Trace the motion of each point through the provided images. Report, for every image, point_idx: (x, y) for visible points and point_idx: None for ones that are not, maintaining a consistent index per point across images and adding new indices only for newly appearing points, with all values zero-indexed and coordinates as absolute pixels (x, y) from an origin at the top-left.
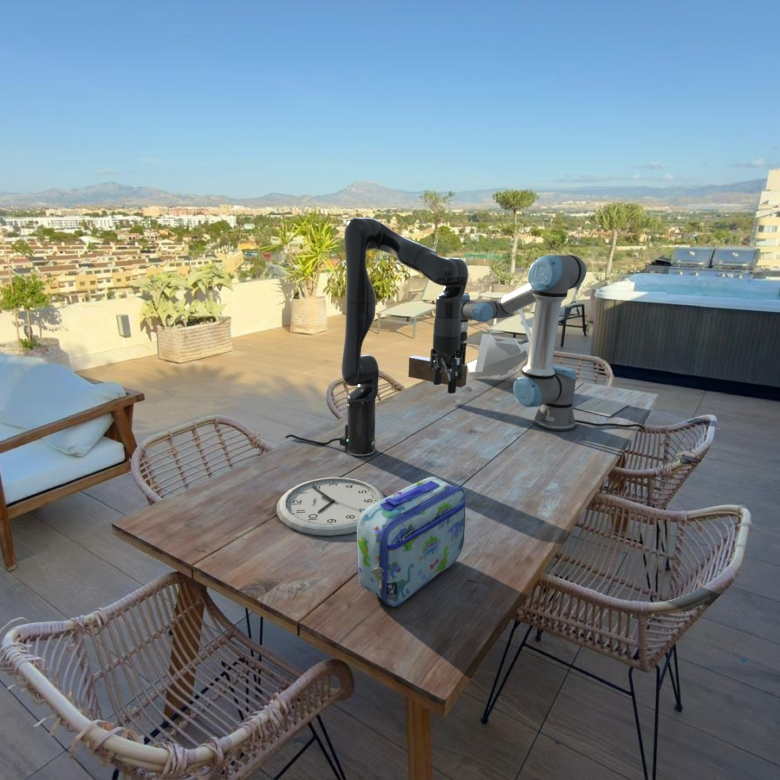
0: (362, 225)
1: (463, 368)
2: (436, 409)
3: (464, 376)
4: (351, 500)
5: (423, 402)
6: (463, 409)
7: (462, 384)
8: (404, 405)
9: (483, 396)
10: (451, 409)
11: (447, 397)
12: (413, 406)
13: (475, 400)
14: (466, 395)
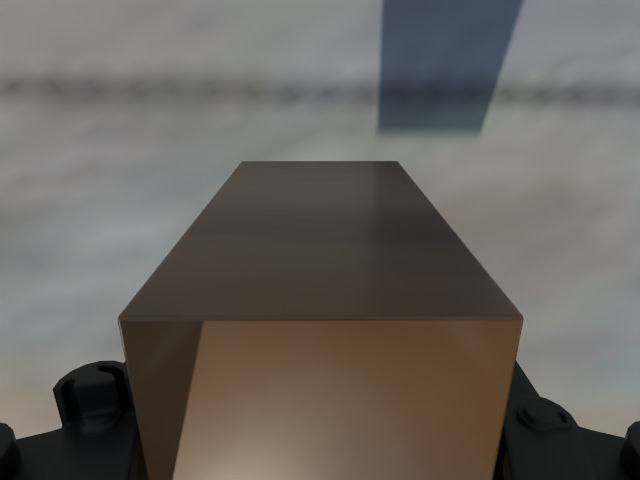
0: None
1: (417, 283)
2: (610, 227)
3: (306, 201)
4: None
5: None
6: (506, 25)
7: (362, 169)
8: (614, 433)
9: (6, 33)
10: (557, 123)
11: None
12: (610, 383)
13: (180, 47)
14: (109, 189)
